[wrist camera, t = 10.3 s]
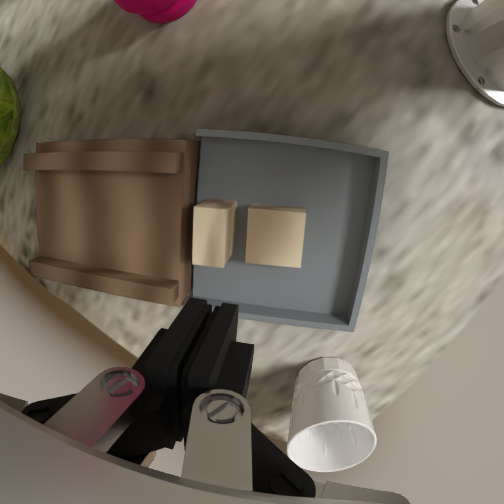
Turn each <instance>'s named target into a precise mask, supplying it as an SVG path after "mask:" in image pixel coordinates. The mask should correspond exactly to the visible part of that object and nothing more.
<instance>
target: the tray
mask: <svg viewBox="0 0 504 504" xmlns="http://www.w3.org/2000/svg"><path fill="white" fill-rule="evenodd" d="M195 136H199V137H202V140H201V151H200V164H199V177H198V191H197V205H198V204H200V203H202V202H203V201H205V200H207V199H222V200H234V201H237V210H236V226H235V241H234V252H233V253H232V255H231V257H230V258H229V260H228V262H227V263H226V265H225V267H224V268H219V267H211V266H203V265H195V264H194V272H193V296H192V297H193V298H199V299H205V300H207V304H211V305H212V312H213V310H214V308H215V306H216V305H217V306H221V304H222V302H224V303H231V304H237V305H239V312H238V318H241V319H248V320H255V321H263V322H270V323H278V324H286V325H294V326H302V327H311V328H320V329H329V330H339V331H349V332H354V329H355V325H356V321H357V317H358V313H359V310H360V306H361V302H362V297H363V293H364V289H365V285H366V280H367V276H368V272H369V267H370V262H371V258H372V253H373V248H374V243H375V237H376V232H377V227H378V221H379V215H380V209H381V203H382V197H383V190H384V183H385V176H386V169H387V161H388V153H389V152H388V151H383V150H378V149H373V148H368V147H362V146H357V145H351V144H345V143H339V142H332V141H326V140H319V139H311V138H304V137H296V136H287V135H278V134H268V133H258V132H246V131H232V130H216V129H196V134H195ZM252 203H253V204H267V205H279V206H291V207H302V208H305V210H306V220H305V231H304V241H303V250H302V260H301V268H296V267H285V266H274V265H263V264H252V263H245V260H246V241H247V222H248V208H249V207H250V205H251V204H252Z"/></svg>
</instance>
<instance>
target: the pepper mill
mask: <svg viewBox="0 0 504 504" xmlns="http://www.w3.org/2000/svg"><path fill="white" fill-rule="evenodd" d="M114 1H115V2H116V3H117V4H118V5H119V6H120V7H121V8H122V9H124V10H126V11H127V12H130V13H134V14H139V15H140V16H142V17H143V18H144V19H146V20H147V21H149V22H152V23H166V22H170V21H173V20H176V19H178V18H180V17H181V16H183V15H184V14H186V13H187V12H188V11H189V10H190V9H191V8H192V7H193V5H194V4H195V2H196V0H114Z"/></svg>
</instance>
